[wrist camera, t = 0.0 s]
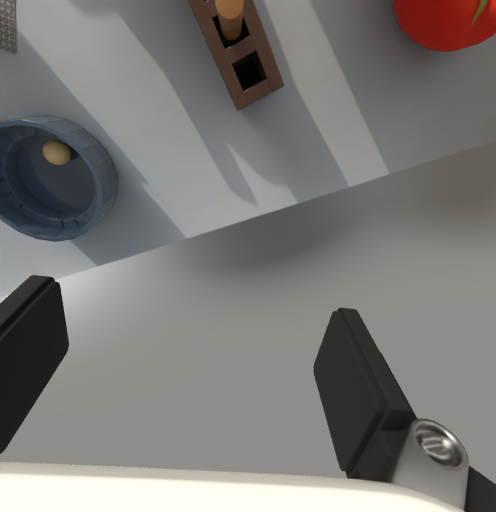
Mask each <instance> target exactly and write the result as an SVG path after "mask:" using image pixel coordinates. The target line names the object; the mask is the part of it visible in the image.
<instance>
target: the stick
mask: <svg viewBox="0 0 496 512" xmlns="http://www.w3.org/2000/svg"><path fill="white" fill-rule="evenodd" d="M243 7H244V0H216V8H217V12H218V17H219V21H220V25H221V29H222V34H223V38H224V42H225V44H226V45H227V46H228V47H230V46H232V45H234V44H236V43H237V42H239V41H240V37H241V27H242V17H243Z"/></svg>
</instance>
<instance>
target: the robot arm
mask: <svg viewBox="0 0 496 512" xmlns="http://www.w3.org/2000/svg"><path fill="white" fill-rule="evenodd" d="M68 347H69V341H68V334H67V327H66V321H65V314H64V308H63V301H62V295H61V288H60V284H59V283H58V282H55V280H54V278H52V277H47V276H37V275H32V276H30V277H29V278H28V279H27V280H26V281H24V282H23V283H22V284H21V285H20V286H19V287H18V288H17V289H16V290H15V291H14V292H12V293H11V294H10V295H9V296H8V297H7V298H6V299H5V300H4V301H3V302H2V303H0V454H1V453H2V452H3V451H4V450H5V449H6V447H7V446H8V444H9V443H10V441H11V440H12V438H13V436H14V435H15V433H16V431H17V430H18V429H19V427H20V425H21V424H22V422H23V421H24V419H25V418H26V416H27V415H28V413H29V411H30V410H31V408H32V407H33V405H34V403H35V402H36V400H37V399H38V397H39V396H40V394H41V393H42V391H43V389H44V388H45V386H46V385H47V383H48V382H49V380H50V378H51V377H52V375H53V374H54V372H55V371H56V369H57V367H58V366H59V364H60V363H61V361H62V360H63V358H64V356H65V355H66V353H67V351H68ZM314 376H315V380H316V383H317V387H318V391H319V394H320V398H321V402H322V405H323V409H324V412H325V416H326V420H327V423H328V427H329V431H330V434H331V438H332V442H333V445H334V449H335V452H336V456H337V460H338V463H339V466H340V469H341V470H342V471H345V472H346V475H347V479H345V478H332V477H318V476H302V475H301V476H300V475H283V474H281V475H280V474H263V473H245V472H226V471H204V470H182V469H163V468H141V467H119V466H96V465H94V466H93V465H72V464H47V463H24V462H23V463H22V462H0V512H496V484H494V483H493V482H492V481H490V480H489V479H487V478H486V477H484V476H483V475H482V474H480V473H479V472H477V471H476V470H474V469H473V468H472V467H470V466H469V459H468V455H467V452H466V450H465V448H464V446H463V445H462V444H461V442H460V441H459V439H458V438H457V437H456V436H455V435H454V434H453V433H452V432H451V431H449V430H448V429H447V428H445V427H444V426H443V425H440V424H439V423H437V422H435V421H431V420H428V419H417V417H416V415H415V413H414V412H413V410H412V408H411V407H410V404H409V403H408V401H407V399H406V397H405V395H404V393H403V392H402V390H401V388H400V386H399V384H398V383H397V381H396V379H395V377H394V375H393V374H392V372H391V370H390V368H389V366H388V364H387V363H386V361H385V359H384V357H383V355H382V354H381V352H380V351H379V350H378V348H377V346H376V344H375V343H374V340H373V339H372V337H371V335H370V333H369V332H368V330H367V328H366V326H365V324H364V322H363V320H362V319H361V317H360V315H359V313H358V311H357V310H355V309H347V308H339V309H338V310H337V311H334V312H333V313H332V315H331V318H330V321H329V324H328V327H327V329H326V332H325V335H324V338H323V341H322V343H321V346H320V349H319V352H318V355H317V357H316V361H315V363H314Z"/></svg>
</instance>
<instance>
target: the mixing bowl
mask: <svg viewBox="0 0 496 512" xmlns="http://www.w3.org/2000/svg"><path fill="white" fill-rule="evenodd" d="M49 140H60V141H62V142H64V143H65V144H67V145H68V147H69V148H70V151H71V158H70V160H69V161H68V162H67V163H66V164H64V165H55V164H52V163H50V162H49V161H48V160H47V159H46V158H45V157H44V155H43V146H44V144H45V143H46V142H47V141H49ZM116 193H117V176H116V173H115V170H114V167H113V164H112V161H111V158H110V157H109V155H108V154H107V152H106V151H105V149H104V148H103V146H102V145H101V144H100V142H99V141H98V140H97V139H95V138H94V137H93V136H92V135H91V134H90V133H89V132H88V131H86V130H85V129H84V128H82V127H80V126H78V125H76V124H74V123H72V122H70V121H68V120H66V119H62V118H57V117H52V116H38V117H31V118H24V119H17V120H10V121H3V122H0V219H1V220H2V221H3V222H5V223H6V224H8V225H9V226H11V227H12V228H14V229H15V230H16V231H18V232H20V233H23V234H25V235H28V236H30V237H33V238H35V239H41V240H48V241H55V242H56V241H64V240H71V239H74V238H76V237H78V236H80V235H82V234H84V233H86V232H87V231H89V230H90V229H91V228H92V227H93V226H94V225H95V224H96V223H97V222H98V221H99V220H100V219H101V218H102V217H103V216H104V215H105V214H106V212H107V211H108V210H109V209H110V208H111V207H112V205H113V202H114V199H115V196H116Z"/></svg>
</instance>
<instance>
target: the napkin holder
mask: <svg viewBox="0 0 496 512" xmlns="http://www.w3.org/2000/svg"><path fill="white" fill-rule="evenodd" d="M0 49H2V50H5V51H8V52H11V53H14V54H16V36H15V0H0Z"/></svg>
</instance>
